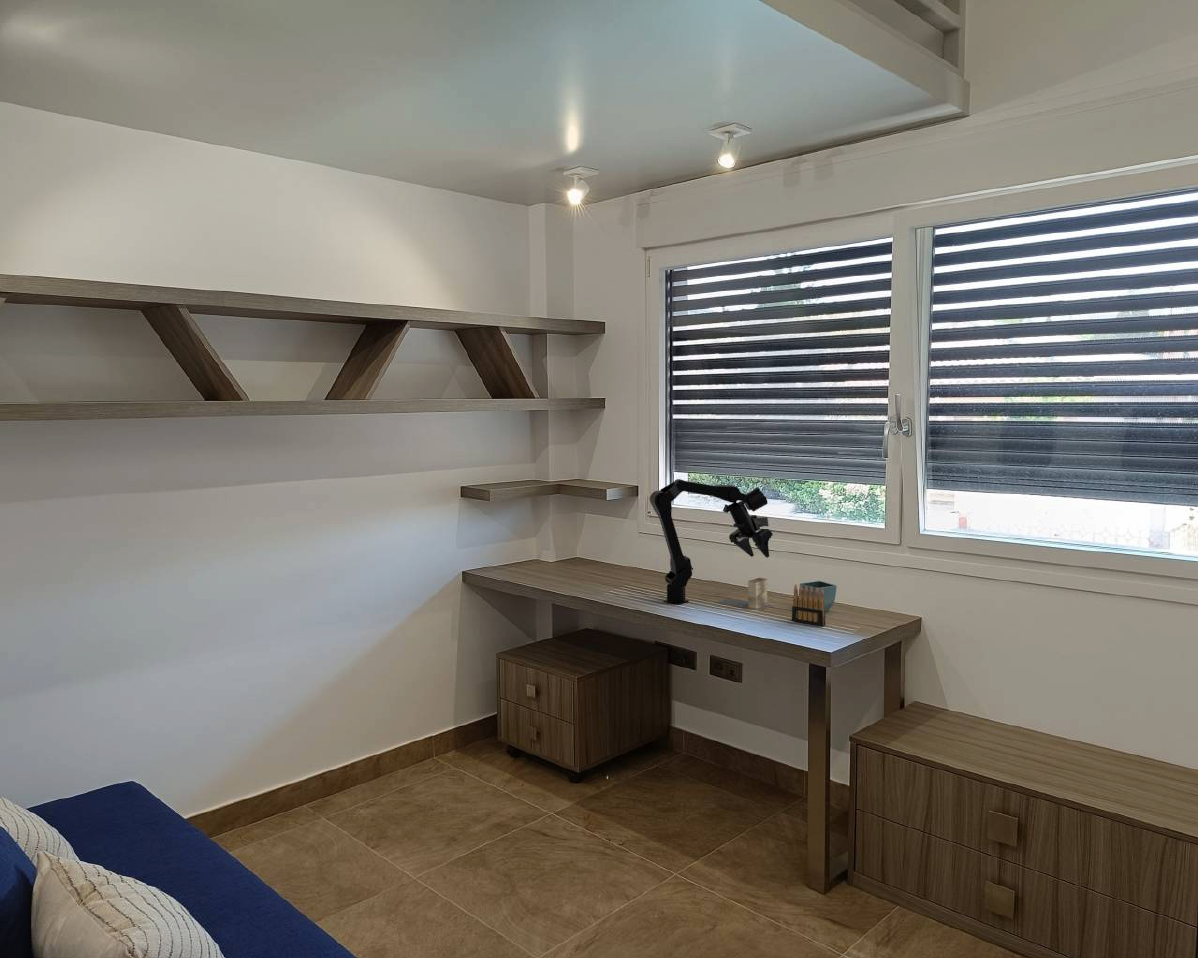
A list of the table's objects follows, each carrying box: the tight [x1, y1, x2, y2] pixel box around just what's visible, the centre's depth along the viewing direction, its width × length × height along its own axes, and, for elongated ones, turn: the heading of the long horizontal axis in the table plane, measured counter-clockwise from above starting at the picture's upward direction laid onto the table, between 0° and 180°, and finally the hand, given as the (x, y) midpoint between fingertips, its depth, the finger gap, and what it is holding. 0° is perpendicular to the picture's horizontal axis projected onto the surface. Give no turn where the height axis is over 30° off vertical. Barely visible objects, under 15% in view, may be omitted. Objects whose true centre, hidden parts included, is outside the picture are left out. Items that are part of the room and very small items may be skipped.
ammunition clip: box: [791, 583, 826, 628], centre depth 285 cm, size 11×2×12 cm, turn 51°
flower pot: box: [799, 580, 838, 613], centre depth 302 cm, size 9×9×9 cm
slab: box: [747, 577, 768, 610], centre depth 308 cm, size 7×3×9 cm, turn 138°
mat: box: [715, 598, 774, 611], centre depth 312 cm, size 8×18×1 cm, turn 48°
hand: (760, 556), depth 323 cm, fingers open, 9 cm apart
